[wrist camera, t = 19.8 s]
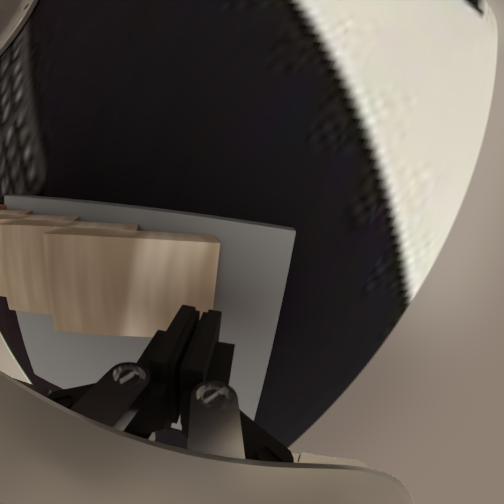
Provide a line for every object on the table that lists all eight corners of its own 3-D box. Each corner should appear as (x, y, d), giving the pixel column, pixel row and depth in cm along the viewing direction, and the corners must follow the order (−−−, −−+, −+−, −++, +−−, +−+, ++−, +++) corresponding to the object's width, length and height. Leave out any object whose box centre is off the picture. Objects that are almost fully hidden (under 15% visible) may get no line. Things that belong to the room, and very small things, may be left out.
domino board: (39, 368, 22) (34, 373, 21) (13, 194, 17) (4, 195, 16) (248, 431, 22) (248, 440, 21) (293, 227, 17) (295, 231, 16)
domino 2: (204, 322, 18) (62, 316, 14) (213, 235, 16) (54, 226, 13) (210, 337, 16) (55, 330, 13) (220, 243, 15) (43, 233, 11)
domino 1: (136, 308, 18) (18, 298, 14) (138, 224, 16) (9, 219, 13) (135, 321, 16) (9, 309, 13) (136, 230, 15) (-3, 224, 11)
